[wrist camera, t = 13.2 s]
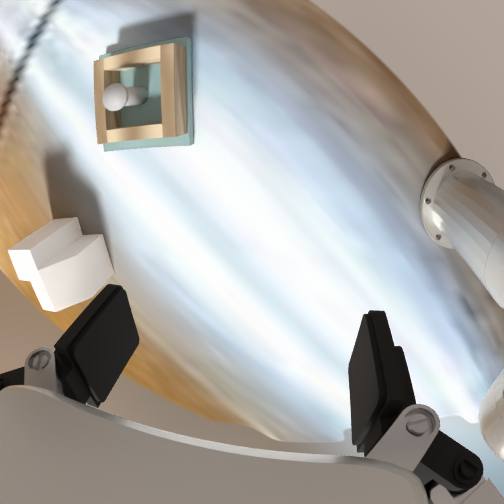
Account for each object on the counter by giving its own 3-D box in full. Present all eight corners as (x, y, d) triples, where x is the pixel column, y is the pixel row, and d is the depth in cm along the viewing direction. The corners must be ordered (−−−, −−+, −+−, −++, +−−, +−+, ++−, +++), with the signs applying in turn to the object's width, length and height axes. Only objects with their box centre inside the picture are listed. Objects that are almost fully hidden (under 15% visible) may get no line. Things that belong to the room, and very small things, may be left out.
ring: (185, 47, 29) (173, 42, 26) (187, 133, 34) (175, 136, 31) (109, 62, 31) (93, 61, 28) (113, 139, 36) (97, 144, 33)
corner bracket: (53, 219, 46) (7, 250, 35) (97, 214, 43) (49, 249, 33) (70, 271, 50) (32, 307, 40) (114, 273, 48) (75, 315, 38)
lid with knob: (191, 38, 30) (166, 26, 23) (193, 143, 36) (169, 154, 30) (105, 56, 32) (70, 53, 25) (110, 149, 38) (76, 161, 31)
